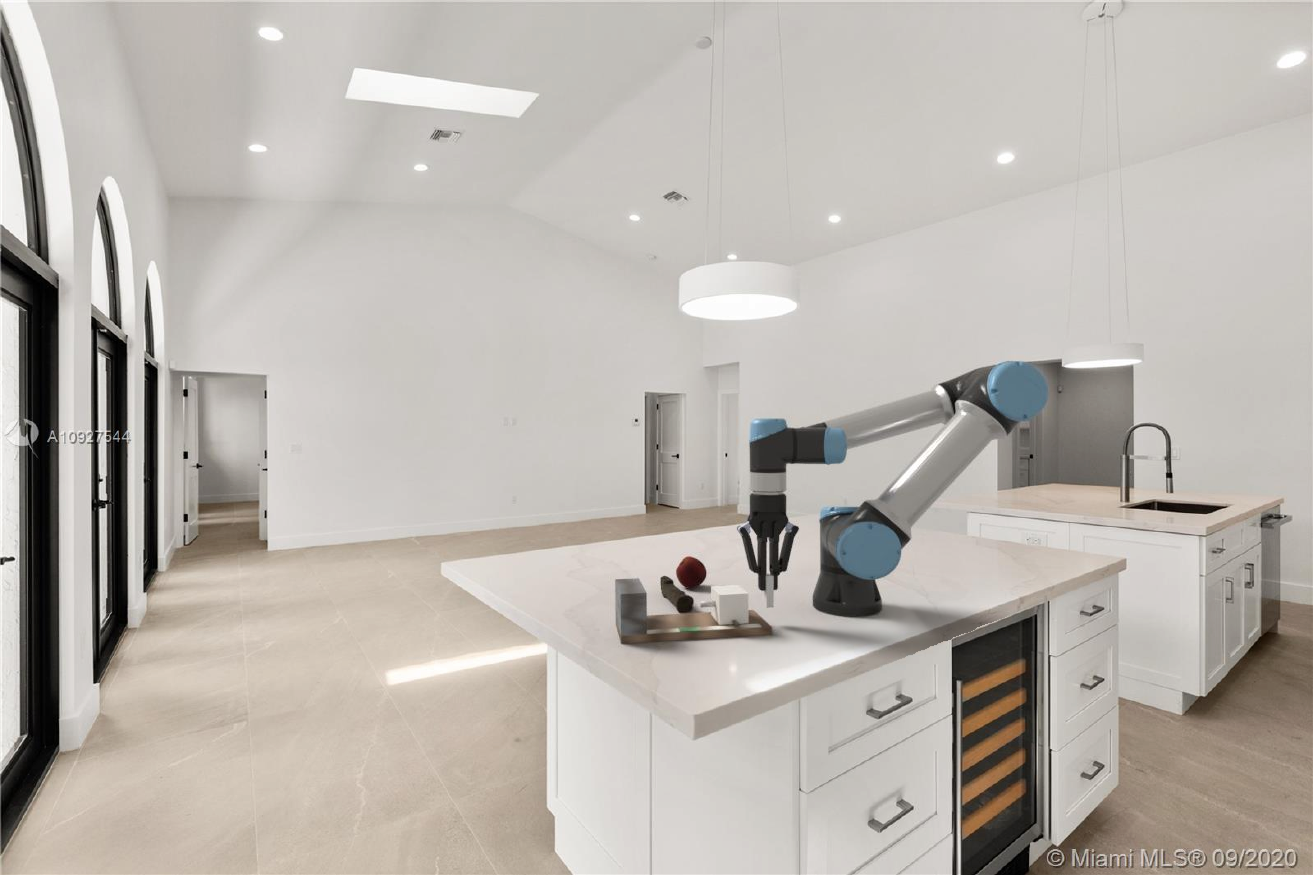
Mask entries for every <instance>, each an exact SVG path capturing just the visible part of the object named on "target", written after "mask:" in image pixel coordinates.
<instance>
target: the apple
mask: <svg viewBox="0 0 1313 875" xmlns="http://www.w3.org/2000/svg"><path fill="white" fill-rule="evenodd" d="M706 568H707V567H705V565H704V563H703V562H702V561H701V560H700V559H698V558H696V557H693V556H689V555H687V556H685V557H683V559H682V560H681V561H680V563H679V564H678V566H677V567H676V569H675V570H676V571H675V575H676V578H677V581H678V582H679V583H680V585H682V587H683V588H685V589H694V588H697V587H700V586H701V585H702V584H703V583H704V582H705V580H706V578H707V569H706Z"/></svg>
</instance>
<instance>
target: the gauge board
mask: <svg viewBox="0 0 1313 875" xmlns="http://www.w3.org/2000/svg"><path fill="white" fill-rule="evenodd" d="M614 583H615V585H614V593H615V595H614V597H615V600H614V601H615V604H614V605H615V607H614V608H615V628H616V632H617V634H618V637H619V641H620V644H621V645H622V644H637V643H639V644H640V643H652V642H656V643H657V642H670V641H686V640H689V641H690V640H704V639H717V638H720V639H723V638H734V637H735V638H737V637H750V636H753V637H754V636H755V637H756V636H767V635H769V636H770V635H772V633H773V626H771V625H770V624H769V623H768V622H767V621H766V620H765V619H764V618H763V617H762V616H760V615H759V614H758V613H757V611H755V610H754V609H748V615H749V623H744V624H740V626H735V625H734V624H726V625H719V624H718V622H717V621H716V620H715V619H714V617H713V616H712V615H711V611H708V612H707V611H705V612H684V613H672V614H671V613H670V614H669V613H668V614H667V613H665V614H651V615H648V612H647V611H648V608H647V607H648V605H647V604H648V603H647V602H648V601H647V600H648V599H647V596H648V594H647V590H646V589H645V587H644V585H643V584H642V581H641V580H640V578H637V577H636V578H635V577H633V578H617V579H615V580H614Z"/></svg>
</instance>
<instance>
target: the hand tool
mask: <svg viewBox="0 0 1313 875" xmlns="http://www.w3.org/2000/svg"><path fill="white" fill-rule="evenodd" d="M659 583H660V590H661V595H662V597H663V598H665V599H666V598H667V599H668V600H669V601H670V602H671V603H672V604H673V605H674V606H675V607H676V611H677V613H678V614H685V613H690V612H691V611H692V610H693V608H694V601H695V600H694V597H692V596H691V595H688V594H687V593H686V592H685V591H684V590H681V589H680V588H679V587H677V586H676V585H675V583H674V580H673V579H672V578H671V577H669V576H666V575H662V576H661V577H660V582H659Z"/></svg>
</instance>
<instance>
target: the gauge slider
mask: <svg viewBox="0 0 1313 875" xmlns="http://www.w3.org/2000/svg"><path fill="white" fill-rule="evenodd" d="M699 604H700V608H710V609H711V610H710V612H711V615H712V616H713V617H714V619H715V620H716V621H717V622H718V624H719V625H726V624H734V625H735V626H740V624H744V623H749V615H748V610H749V593H748V592H747V591H746V590H745V589H744V588H743V587H742V586H740V584H736V585H734V584H733V585H732V584H731V585H729V584H728V585H716V586H715V585H711V586H710V600H703V601H702V600H701V601H700V603H699Z"/></svg>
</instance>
